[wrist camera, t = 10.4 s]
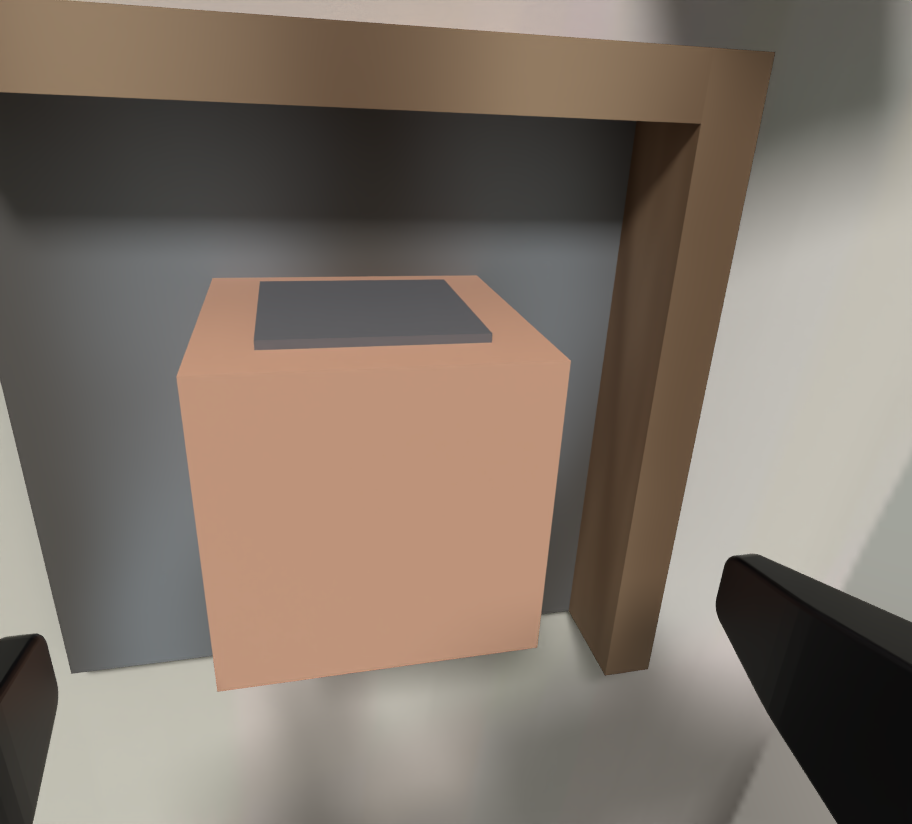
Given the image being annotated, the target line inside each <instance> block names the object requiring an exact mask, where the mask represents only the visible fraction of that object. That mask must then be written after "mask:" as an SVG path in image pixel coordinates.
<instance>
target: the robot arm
mask: <svg viewBox="0 0 912 824" xmlns="http://www.w3.org/2000/svg"><path fill="white" fill-rule="evenodd" d="M716 612H717V615H718V618H719V621H720V623H721V624H722V626H723V628H724V630H725V632H726V634H727V636H728V638H729V640H730V642H731V644H732V646H733V648H734V650H735V652H736V654H737V656H738V658H739V660H740V662H741V664H742V666H743V667H744V669H745V671H746V673H747V675H748V677H749V679H750V681H751V683H752V685H753V687H754V689H755V691H756V693H757V695H758V697H759V699H760V700H761V702H762V704H763V706H764V708H765V710H766V711H767V713H768V715H769V716H770V718H771V720H772V721H773V723H774V725H775V726H776V728H777V730H778V731H779V733H780V734H781V736H782V737H783V739H784V740H785V742H786V743H787V745H788V747H789V748H790V750H791V752H792V753H793V755H794V756H795V758H796V759H797V761H798V763H799V764H800V766H801V767H802V769H803V770H804V772H805V773H806V775H807V777H808V778H809V780H810V781H811V783H812V785H813V786H814V788H815V789H816V791H817V792H818V794H819V795H820V797H821V799H822V800H823V802H824V803H825V805H826V807H827V808H828V810H829V811H830V813H831V814H832V816H833V818H834V819H835V821H836V822H837V824H912V622H910V621H908V620H905V619H903V618H901V617H898V616H896V615H894V614H892V613H889V612H887V611H885V610H883V609H880V608H878V607H876V606H874V605H871V604H869V603H867V602H865V601H862V600H860V599H858V598H856V597H853V596H851V595H849V594H847V593H844V592H842V591H840V590H838V589H835V588H833V587H831V586H829V585H826V584H824V583H822V582H820V581H817V580H815V579H813V578H811V577H808V576H806V575H804V574H802V573H799V572H797V571H795V570H793V569H790V568H788V567H786V566H784V565H781V564H779V563H777V562H774V561H772V560H770V559H768V558H765V557H763V556H761V555H758V554H745V555H736V556H732V557H730V558H729V559H728V560H727V561H726V563H725V565H724V569H723V573H722V578H721V582H720V586H719V590H718V594H717V598H716ZM57 705H58V686H57V681H56V677H55V673H54V669H53V665H52V662H51V658H50V654H49V650H48V646H47V643H46V640H45V639H44V637H43V636H42V635H39V634H27V635H17V636H8V637H4V638H2V639H0V824H33V820H34V815H35V811H36V806H37V801H38V796H39V792H40V787H41V782H42V777H43V772H44V768H45V763H46V758H47V753H48V749H49V744H50V739H51V734H52V730H53V725H54V720H55V715H56V710H57Z"/></svg>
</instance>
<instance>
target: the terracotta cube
mask: <svg viewBox="0 0 912 824" xmlns="http://www.w3.org/2000/svg"><path fill="white" fill-rule="evenodd" d="M570 364H571V360H569V359H568V358H567V357H566V356H565V355H564V354H563V353H562V352H561V351H560V350H558V349H557V348H556V347H555V346H554V345H553V344H552V343H551V342H550V341H549V340H547V339H546V338H545V337H544V336H543V335H542V334H541V333H540V332H539V331H538V330H536V329H535V328H534V327H533V326H532V325H531V324H530V323H529V322H528V321H527V320H525V319H524V318H523V317H522V316H521V315H520V314H519V313H518V312H517V311H516V310H514V309H513V308H512V307H511V306H510V305H509V304H508V303H507V302H506V301H505V300H503V299H502V298H501V297H500V296H499V295H498V294H497V293H496V292H495V291H493V290H492V289H491V288H490V287H489V286H488V285H487V284H486V283H485V282H484V281H482V280H481V279H480V278H479V277H478V276H477V275H470V276H368V277H267V278H212V281H211V284H210V287H209V289H208V292H207V295H206V297H205V300H204V303H203V306H202V308H201V311H200V314H199V316H198V319H197V322H196V325H195V327H194V330H193V333H192V335H191V338H190V341H189V344H188V346H187V349H186V352H185V354H184V357H183V360H182V363H181V365H180V368H179V371H178V373H177V376H176V378H177V385H178V393H179V401H180V408H181V416H182V424H183V431H184V439H185V447H186V454H187V462H188V470H189V477H190V485H191V493H192V500H193V508H194V515H195V523H196V531H197V538H198V546H199V554H200V561H201V569H202V577H203V584H204V592H205V600H206V607H207V615H208V623H209V630H210V638H211V646H212V653H213V661H214V668H215V676H216V684H217V691H218V692H219V691H226V690H233V689H240V688H248V687H255V686H262V685H269V684H277V683H284V682H291V681H298V680H306V679H313V678H320V677H327V676H335V675H342V674H349V673H356V672H364V671H371V670H378V669H385V668H392V667H400V666H407V665H414V664H421V663H429V662H436V661H443V660H450V659H458V658H465V657H472V656H479V655H487V654H494V653H501V652H508V651H516V650H523V649H530V648H537V644H538V636H539V627H540V619H541V610H542V602H543V593H544V585H545V576H546V568H547V559H548V551H549V542H550V534H551V526H552V517H553V509H554V500H555V492H556V483H557V475H558V466H559V458H560V449H561V441H562V432H563V424H564V415H565V407H566V398H567V390H568V381H569V373H570Z"/></svg>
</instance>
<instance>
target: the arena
mask: <svg viewBox="0 0 912 824" xmlns="http://www.w3.org/2000/svg"><path fill="white" fill-rule="evenodd" d="M774 56H775V52H765V51H751V50H738V49H724V48H710V47H697V46H683V45H669V44H656V43H642V42H628V41H615V40H601V39H587V38H574V37H560V36H546V35H533V34H519V33H505V32H492V31H478V30H464V29H451V28H437V27H423V26H410V25H396V24H382V23H368V22H355V21H341V20H327V19H314V18H300V17H286V16H273V15H259V14H245V13H232V12H218V11H204V10H191V9H177V8H163V7H150V6H136V5H122V4H109V3H95V2H81V1H68V0H0V381H1V385H2V389H3V393H4V397H5V401H6V405H7V409H8V414H9V418H10V422H11V426H12V430H13V434H14V438H15V442H16V447H17V451H18V455H19V459H20V463H21V467H22V471H23V475H24V480H25V484H26V488H27V492H28V496H29V500H30V504H31V509H32V513H33V517H34V521H35V525H36V529H37V533H38V537H39V542H40V546H41V550H42V554H43V558H44V562H45V566H46V570H47V575H48V579H49V583H50V587H51V591H52V595H53V599H54V603H55V608H56V612H57V616H58V620H59V624H60V628H61V632H62V636H63V641H64V645H65V649H66V653H67V657H68V661H69V665H70V670H71V674H72V673H80V672H88V671H96V670H104V669H112V668H120V667H128V666H136V665H144V664H152V663H159V662H167V661H175V660H183V659H191V658H199V657H207V656H213V653H212V646H211V638H210V630H209V623H208V615H207V607H206V600H205V592H204V584H203V577H202V569H201V561H200V554H199V546H198V538H197V531H196V523H195V515H194V508H193V500H192V493H191V485H190V477H189V470H188V462H187V454H186V447H185V439H184V431H183V424H182V416H181V408H180V401H179V393H178V385H177V378H176V376H177V373H178V371H179V368H180V365H181V363H182V360H183V357H184V354H185V352H186V349H187V346H188V344H189V341H190V338H191V335H192V333H193V330H194V327H195V325H196V322H197V319H198V316H199V314H200V311H201V308H202V306H203V303H204V300H205V297H206V295H207V292H208V289H209V287H210V284H211V281H212V278H267V277H368V276H470V275H477V276H478V277H479V278H480V279H481V280H482V281H484V282H485V283H486V284H487V285H488V286H489V287H490V288H491V289H492V290H493V291H495V292H496V293H497V294H498V295H499V296H500V297H501V298H502V299H503V300H505V301H506V302H507V303H508V304H509V305H510V306H511V307H512V308H513V309H514V310H516V311H517V312H518V313H519V314H520V315H521V316H522V317H523V318H524V319H525V320H527V321H528V322H529V323H530V324H531V325H532V326H533V327H534V328H535V329H536V330H538V331H539V332H540V333H541V334H542V335H543V336H544V337H545V338H546V339H547V340H549V341H550V342H551V343H552V344H553V345H554V346H555V347H556V348H557V349H558V350H560V351H561V352H562V353H563V354H564V355H565V356H566V357H567V358H568V359H569V360H571V364H570V373H569V381H568V390H567V398H566V407H565V415H564V424H563V432H562V441H561V449H560V458H559V466H558V475H557V483H556V492H555V500H554V509H553V517H552V526H551V534H550V542H549V551H548V559H547V568H546V576H545V585H544V593H543V602H542V610H541V614H547V613H555V612H563V611H569V612H570V614H571V616H572V618H573V619H574V621H575V623H576V625H577V626H578V628H579V630H580V632H581V634H582V635H583V637H584V639H585V641H586V642H587V644H588V646H589V648H590V650H591V651H592V653H593V655H594V657H595V659H596V660H597V662H598V664H599V666H600V667H601V669H602V671H603V673H604V675H612V674H619V673H625V672H632V671H638V670H645V669H648V666H649V661H650V656H651V652H652V647H653V642H654V637H655V632H656V627H657V623H658V618H659V613H660V608H661V603H662V598H663V593H664V589H665V584H666V579H667V574H668V569H669V564H670V560H671V555H672V550H673V545H674V540H675V535H676V530H677V526H678V521H679V516H680V511H681V506H682V501H683V497H684V492H685V487H686V482H687V477H688V472H689V467H690V463H691V458H692V453H693V448H694V443H695V438H696V434H697V429H698V424H699V419H700V414H701V409H702V404H703V400H704V395H705V390H706V385H707V380H708V375H709V371H710V366H711V361H712V356H713V351H714V346H715V341H716V337H717V332H718V327H719V322H720V317H721V312H722V308H723V303H724V298H725V293H726V288H727V283H728V278H729V274H730V269H731V264H732V259H733V254H734V249H735V245H736V240H737V235H738V230H739V225H740V220H741V215H742V211H743V206H744V201H745V196H746V191H747V186H748V182H749V177H750V172H751V167H752V162H753V157H754V152H755V148H756V143H757V138H758V133H759V128H760V123H761V119H762V114H763V109H764V104H765V99H766V94H767V89H768V85H769V80H770V75H771V70H772V65H773V60H774Z"/></svg>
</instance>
